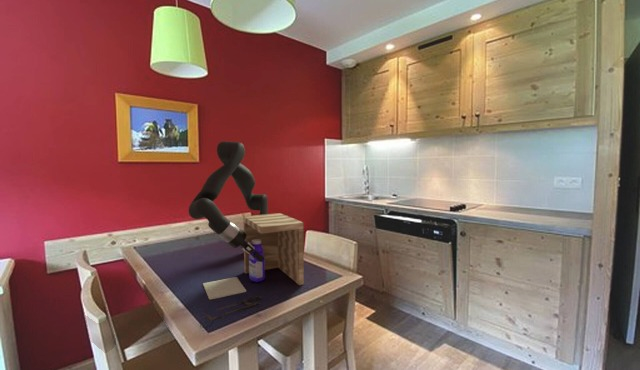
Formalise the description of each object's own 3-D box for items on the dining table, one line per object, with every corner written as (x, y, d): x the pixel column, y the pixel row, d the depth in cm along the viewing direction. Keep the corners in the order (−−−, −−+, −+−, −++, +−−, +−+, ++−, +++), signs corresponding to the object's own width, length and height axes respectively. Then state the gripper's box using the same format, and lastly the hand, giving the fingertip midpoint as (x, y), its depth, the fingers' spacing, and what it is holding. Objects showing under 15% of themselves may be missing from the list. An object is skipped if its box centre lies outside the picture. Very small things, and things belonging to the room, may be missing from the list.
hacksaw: (260, 297, 113) (260, 293, 113) (272, 308, 105) (272, 304, 105) (194, 316, 100) (193, 311, 99) (201, 330, 91) (200, 326, 91)
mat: (203, 284, 124) (202, 283, 124) (236, 277, 131) (236, 276, 131) (209, 299, 110) (209, 298, 110) (246, 291, 117) (246, 290, 117)
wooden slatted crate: (244, 272, 138) (243, 216, 136) (280, 265, 147) (279, 213, 145) (262, 293, 115) (261, 227, 113) (303, 284, 124) (303, 222, 122)
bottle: (246, 279, 128) (246, 239, 127) (257, 275, 132) (257, 237, 131) (255, 284, 123) (255, 243, 122) (267, 280, 127) (266, 240, 126)
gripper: (243, 230, 116) (271, 255, 122) (234, 224, 128) (260, 246, 135) (229, 246, 114) (259, 269, 120) (222, 237, 126) (249, 259, 133)
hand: (259, 257), depth 128 cm, fingers closed on bottle, 7 cm apart
